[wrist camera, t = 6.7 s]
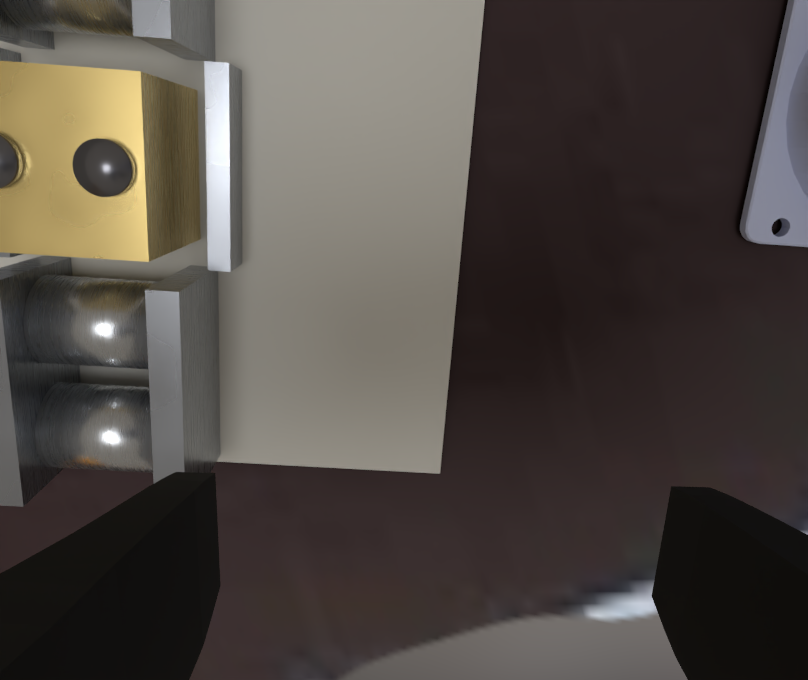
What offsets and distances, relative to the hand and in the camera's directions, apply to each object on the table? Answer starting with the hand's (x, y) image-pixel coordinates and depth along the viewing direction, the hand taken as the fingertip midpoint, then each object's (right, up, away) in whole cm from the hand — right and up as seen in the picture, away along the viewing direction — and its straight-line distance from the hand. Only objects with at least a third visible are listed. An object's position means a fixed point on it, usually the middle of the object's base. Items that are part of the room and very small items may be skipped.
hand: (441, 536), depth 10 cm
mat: (-6, +8, +8) cm, 13 cm away
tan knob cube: (-8, +8, +8) cm, 14 cm away
